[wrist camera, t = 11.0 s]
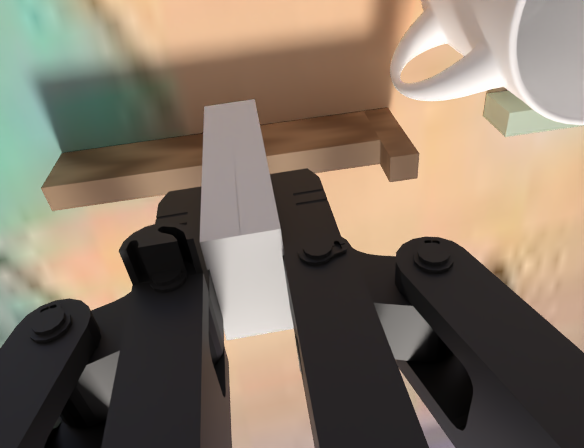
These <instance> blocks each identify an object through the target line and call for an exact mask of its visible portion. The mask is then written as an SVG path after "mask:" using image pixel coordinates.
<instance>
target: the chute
mask: <svg viewBox="0 0 584 448" xmlns="http://www.w3.org/2000/svg"><path fill="white" fill-rule="evenodd" d="M260 128H261V133H262V138H263V143H264V148H265V153H266V158H267V163H268V168H269V173H270V174H273V173H280V172H286V171H292V170H299V169H305V168H308V169H309V170H310V171H312V172H313V173H320V172H327V171H334V170H341V169H348V168H355V167H362V166H369V165H375V164H380V165H381V167H382V169H383V170H384V172H385V174H386V176H387V178H388V180H389V182H395V181H402V180H409V179H415V178H417V176H418V162H419V152H418V151H417V150H416V148H415V147H414V145H413V144H412V142H411V141H410V139H409V138H408V137H407V135H406V134H405V132H404V131H403V129H402V128H401V126H400V125H399V123H398V122H397V121H396V119H395V118H394V116H393V115H392V113H391V112H390V110H389V109H388V108H380V109H373V110H366V111H359V112H352V113H344V114H337V115H330V116H323V117H316V118H309V119H302V120H294V121H287V122H280V123H273V124H266V125H260ZM202 157H203V133H202V134H194V135H187V136H180V137H173V138H166V139H159V140H152V141H145V142H137V143H130V144H123V145H116V146H109V147H102V148H95V149H87V150H80V151H73V152H66V153H62V154H61V155H60V157H59V159H58V160H57V162H56V164H55V166H54V167H53V169H52V171H51V172H50V174H49V176H48V177H47V179H46V181H45V182H44V184H43V186H42V187H41V189H42V191H43V193H44V195H45V197H46V199H47V201H48V203H49V205H50V207H51V209H52V211H55V210H62V209H69V208H76V207H83V206H90V205H97V204H104V203H111V202H118V201H125V200H132V199H139V198H146V197H153V196H160V195H166V194H167V193H168V192H169V191H175V190H181V189H188V188H194V187H200V186H202Z"/></svg>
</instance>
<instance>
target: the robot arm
mask: <svg viewBox="0 0 584 448" xmlns="http://www.w3.org/2000/svg"><path fill="white" fill-rule="evenodd" d="M156 218H157V219H156V222H155V224H154V225H150V226H147V227H144V228H142V229H140V230H139V231H137V232H135V233H133V234H132V235H131V236H129V237H128V238H127V239H126V240H125V241H124V242H123V244H122V246H121V247H120V249H119V253H120V255H121V257H122V260H123V262H124V265H125V267H126V270H127V272H128V274H129V277H130V279H131V282H132V284H133V286H132V291H131V292H130V293H129V294H127V295H126V296H124V297H122V298H120V299H118V300H116V301H114V302H112V303H109V304H107V305H104V306H102V307H99V308H97V309H94V310H92V311H91V310H90V308H89V306H87V305H86V304H85V303H83V302H82V301H80V300H75V299H63V300H56V301H53V302H51V303H48V304H45V305H43V306H40V307H39V308H37V309H36V310H34V311H33V312H31V313H30V314H28V315H27V316H26V317H25V318H24V319H23V320H22V321H21V322H20V323H19V324H18V325H17V326H16V328H15V329H14V330H13V332H12V333H11V335H10V336H9V337H8V339H7V340H6V341H5V343H4V344H3V345H2V347H1V348H0V448H232V439H231V413H230V387H229V362H228V358H227V354H226V351H225V347H224V332H225V336H226V339H227V340H232V339H238V338H243V337H249V336H255V335H260V334H266V333H272V332H277V331H283V330H289V329H294V332H295V339H296V346H297V353H298V359H299V366H300V372H301V374H302V379H303V385H304V391H305V396H306V402H307V407H308V413H309V418H310V424H311V429H312V435H313V440H314V446H315V448H429V446H428V444H427V441H426V439H425V436H424V433H423V431H422V428H421V426H420V423H419V420H418V418H417V415H416V413H415V410H414V407H413V405H412V402H411V400H410V397H409V394H408V392H407V389H406V387H405V384H404V381H403V379H402V376H401V373H400V371H399V369H400V370H401V372H402V373H403V374H404V376H405V377H406V379H407V380H408V382H409V383H410V384H411V386H412V387H413V389H414V390H415V391H416V393H417V394H418V396H419V397H420V398H421V400H422V401H423V403H424V404H425V405H426V407H427V408H428V410H429V411H430V412H431V414H432V415H433V417H434V418H435V419H436V421H437V422H438V424H439V425H440V426H441V428H442V429H443V431H444V432H445V433H446V435H447V436H448V438H449V439H450V441H451V442H452V443H453V445H454V446H455V448H584V353H583V352H582V351H581V350H580V349H579V348H578V347H577V346H575V345H574V344H573V343H572V342H571V341H570V340H569V339H567V338H566V337H565V336H564V335H563V334H562V333H560V332H559V331H558V330H557V329H556V328H555V327H554V326H552V325H551V324H550V323H549V322H548V321H547V320H546V319H544V318H543V317H542V316H541V315H540V314H539V313H538V312H536V311H535V310H534V309H533V308H532V307H531V306H530V305H528V304H527V303H526V302H525V301H524V300H523V299H521V298H520V297H519V296H518V295H517V294H516V293H515V292H513V291H512V290H511V289H510V288H509V287H508V286H507V285H505V284H504V283H503V282H502V281H501V280H500V279H499V278H497V277H496V276H495V275H494V274H493V273H492V272H490V271H489V270H488V269H487V268H486V267H485V266H484V265H482V264H481V263H480V262H479V261H478V260H477V259H476V258H474V257H473V256H472V255H471V254H470V253H469V252H468V251H466V250H465V249H464V248H463V247H461V246H459V245H458V244H456V243H455V242H453V241H450V240H446V239H443V238H439V237H421V238H416V239H412V240H410V241H408V242H406V243H405V244H403V245H402V246H401V247H400V248H399V250H398V251H397V252H396V256H379V255H371V254H366V253H363V252H360V251H357V250H355V249H353V248H352V247H351V245H350V244H349V243H348V241H347V240H346V239H344V238H342V237H341V235H340V232H339V230H338V227H337V224H336V221H335V219H334V216H333V213H332V211H331V208H330V205H329V202H328V201H327V197H326V194H325V192H324V189H323V186H322V183H321V181H320V178H319V177H318V176H317V175H316V174H314V173H313V172H312V171H310V170H309V169H308V168H305V169H299V170H292V171H286V172H280V173H273V174H270V173H269V168H268V163H267V158H266V153H265V148H264V143H263V138H262V133H261V128H260V123H259V118H258V113H257V108H256V103H255V99H251V100H245V101H238V102H231V103H224V104H218V105H211V106H204V128H203V157H202V186H200V187H194V188H188V189H181V190H175V191H169V192H168V193H167V194H166V195H165V197H164V198H163V199H162V200H161V202H160V203H159V204H158V210H157V216H156ZM398 367H399V368H398Z"/></svg>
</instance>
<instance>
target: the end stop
mask: <svg viewBox="0 0 584 448" xmlns="http://www.w3.org/2000/svg"><path fill="white" fill-rule="evenodd" d="M483 117H485V118H486V119H487V120H488V121H489V122H490V123H491V124H492V125H493V126H494V127H495V128H496V129H497V130H498V131H499V132H500V133H501V134H503V135H504V136H505V137H508V136H515V135H522V134H529V133H536V132H543V131H550V130H557V129H564V128H571V127H578V126H584V125H573V124H564V123H560V122H555V121H553V120H550V119H548V118H545V117H543V116H542V115H540V114H539V113H537V112H535V111H534V110H533V109H532V108H530V107H529V106H528V105H527V104H525V103H524V102H523V101H522V100H520V99H519V98H518V97H516V96H515V95H514V94H512V93H511V92H510V91H501V92H494V93H487V94H486V100H485V107H484V113H483Z"/></svg>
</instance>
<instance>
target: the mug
mask: <svg viewBox="0 0 584 448" xmlns="http://www.w3.org/2000/svg"><path fill="white" fill-rule="evenodd" d="M421 4H422V8H423V10H424V12H423V13H422V14H421V15H420V16H419V17H418V18H417V19H416V20H415V22H414V23H413V24H412V25H411V26H410V28H409V29H408V30H407V32H406V33H405V34H404V36H403V37H402V39H401V40H400V42H399V43H398V45H397V47H396V49H395V52H394V54H393V57H392V60H391V65H390V75H391V79H392V82H393V84H394V86H395V88H396V89H397V90H398V91H399V92H400V93H401V94H403V95H405V96H406V97H408V98H412V99H415V100H422V101H442V100H449V99H455V98H460V97H464V96H468V95H472V94H476V93H479V92H483V91H487V90H490V89H495V88H499V87H505V88H506V89H507V90H508V91H510V92H511V93H512V94H514V95H515V96H516V97H518V98H519V99H520V100H522V101H523V102H524V103H525V104H527V105H528V106H529V107H530V108H532V109H533V110H534V111H535V112H537V113H539V114H540V115H542V116H543V117H545V118H548V119H550V120H553V121H555V122H560V123H564V124H573V125H584V0H421ZM442 44H449V45H450V46H451V47H453V48H454V49H455V50H456V51H458V52H459V53H461V54H462V55H463V56H464V57H463V58H462V59H460V60H459V61H457V62H456V63H455V64H453V65H452V66H450V67H449V68H447V69H445V70H444V71H442V72H441V73H439V74H437V75H435V76H433V77H431V78H428V79H426V80H423V81H419V82H416V83H404V82H402V81H401V79H400V74H401V71H402V69H403V68H404V67H405V65H406V64H407V63H408V62H409V61H410V60H411V59H413V58H414V57H416V56H417V55H419V54H420V53H422V52H424V51H426V50H429V49H431V48H433V47H436V46H439V45H442Z"/></svg>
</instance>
